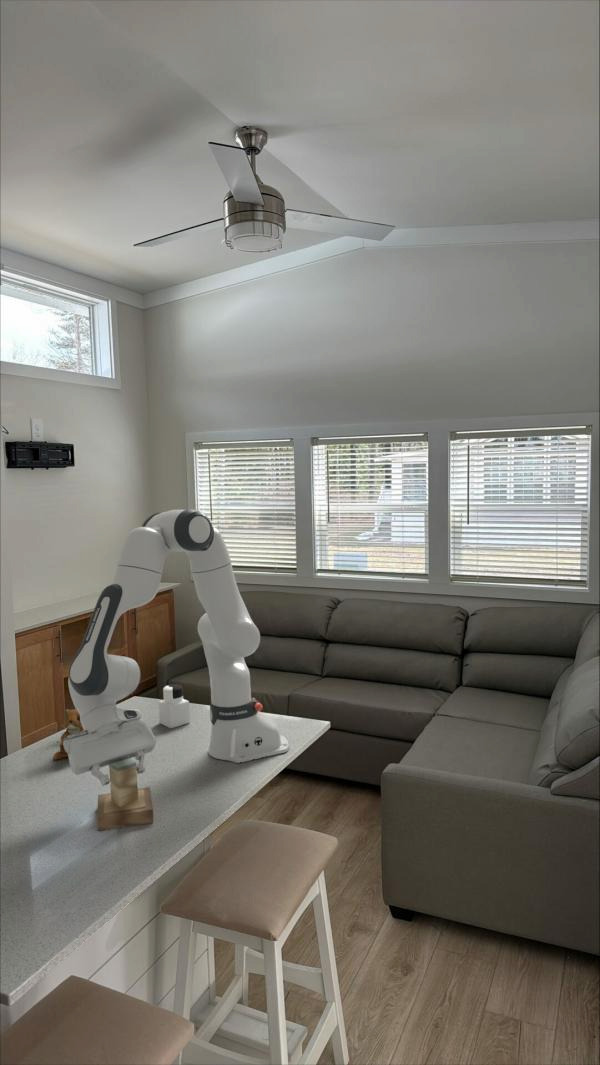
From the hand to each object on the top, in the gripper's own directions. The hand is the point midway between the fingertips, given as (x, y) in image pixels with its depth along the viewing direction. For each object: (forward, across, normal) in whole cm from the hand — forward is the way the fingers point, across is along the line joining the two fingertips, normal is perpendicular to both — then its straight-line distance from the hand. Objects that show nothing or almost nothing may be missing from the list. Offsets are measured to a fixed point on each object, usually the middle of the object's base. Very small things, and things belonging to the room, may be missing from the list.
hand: (124, 777), depth 162 cm
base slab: (+6, 0, +7) cm, 9 cm away
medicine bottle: (-26, +39, +39) cm, 61 cm away
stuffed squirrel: (-26, +8, +39) cm, 47 cm away
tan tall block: (+4, 0, +4) cm, 6 cm away
